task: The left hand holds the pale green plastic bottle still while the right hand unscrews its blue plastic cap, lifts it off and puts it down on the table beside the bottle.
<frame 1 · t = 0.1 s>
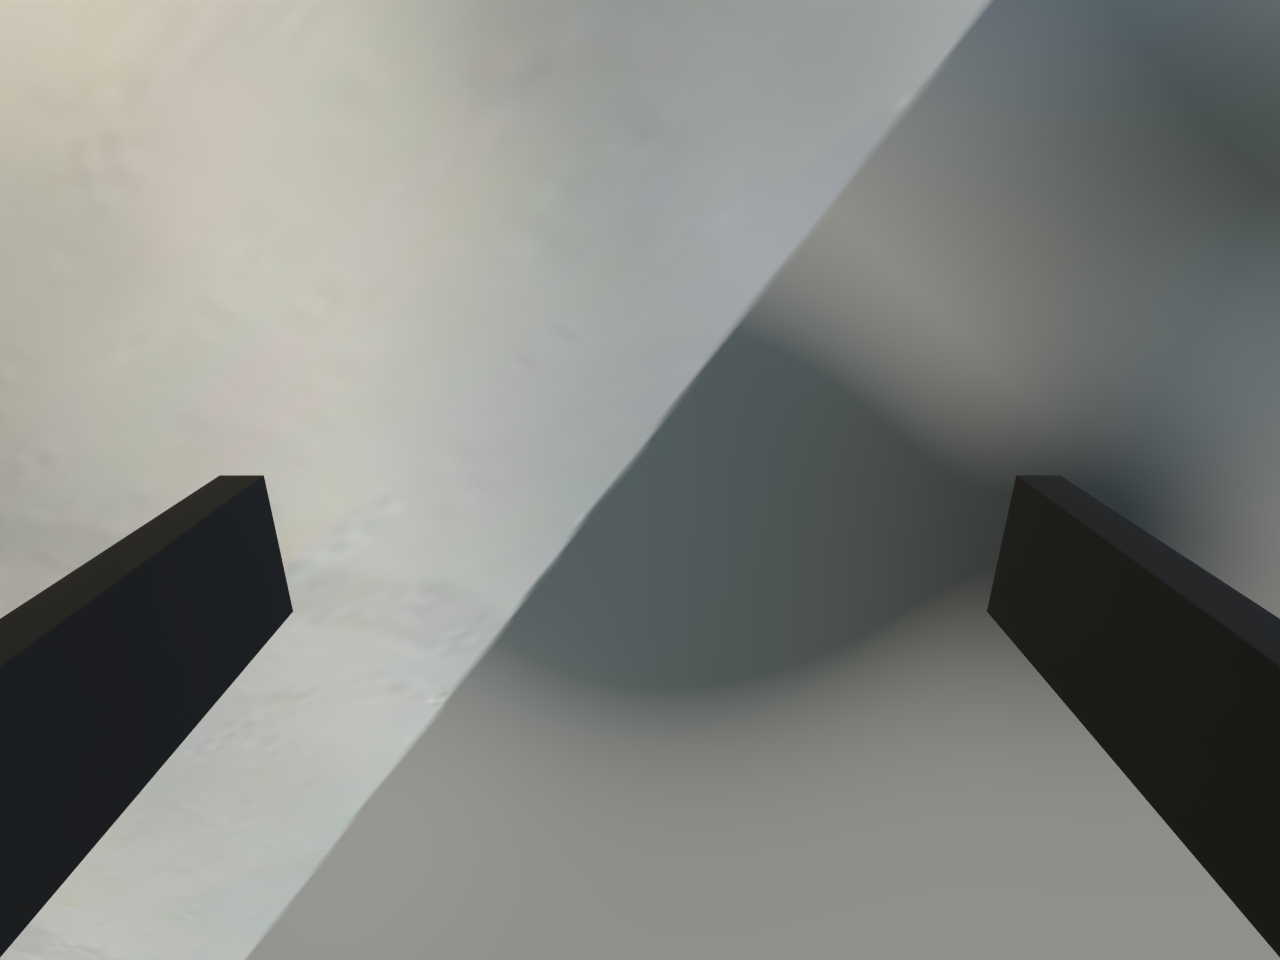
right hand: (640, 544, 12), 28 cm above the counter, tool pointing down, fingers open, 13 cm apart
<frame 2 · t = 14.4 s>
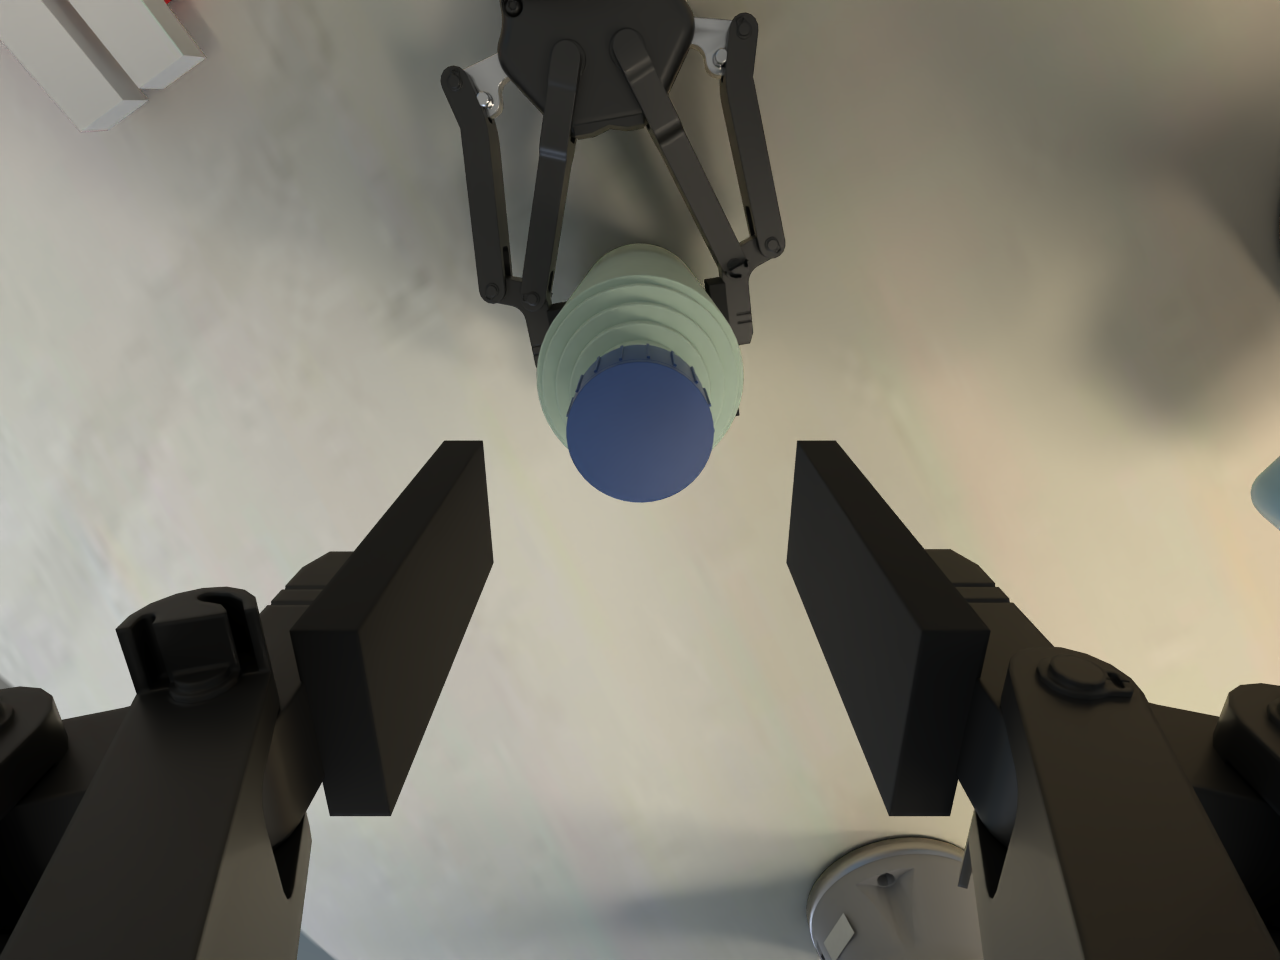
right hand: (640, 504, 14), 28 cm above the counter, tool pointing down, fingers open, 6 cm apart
left hand: (654, 419, 36), fingers closed on bottle, 7 cm apart
cap: (640, 431, 19), point 23 cm above the counter, screwed on, not yet turned
bottle: (640, 307, 40), on the counter, touching left hand
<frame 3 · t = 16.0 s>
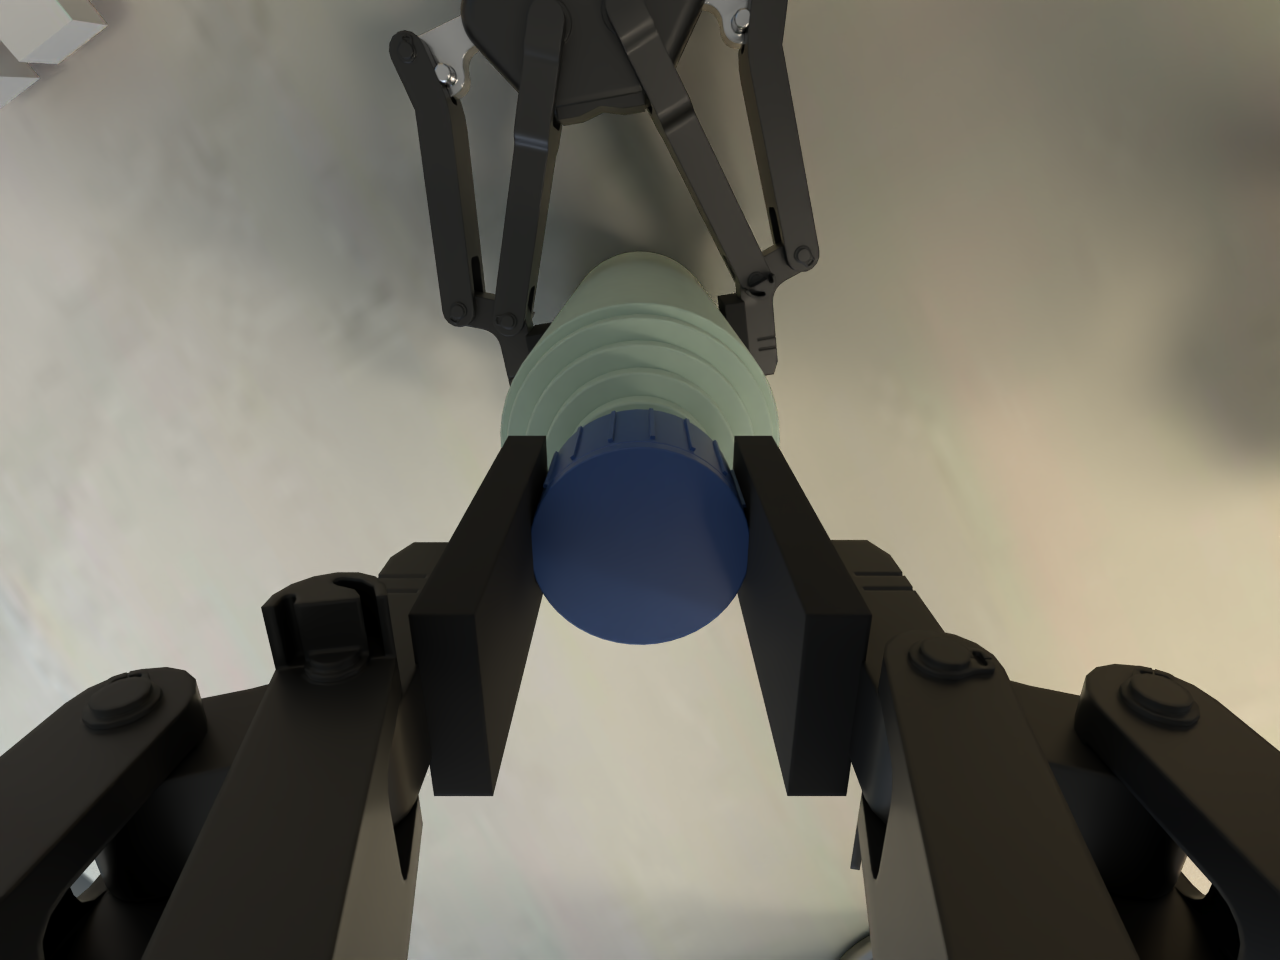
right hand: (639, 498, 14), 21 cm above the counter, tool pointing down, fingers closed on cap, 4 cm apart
left hand: (657, 463, 30), fingers closed on bottle, 7 cm apart
cap: (640, 544, 12), point 23 cm above the counter, screwed on, not yet turned, touching right hand
bottle: (640, 326, 34), on the counter, touching left hand
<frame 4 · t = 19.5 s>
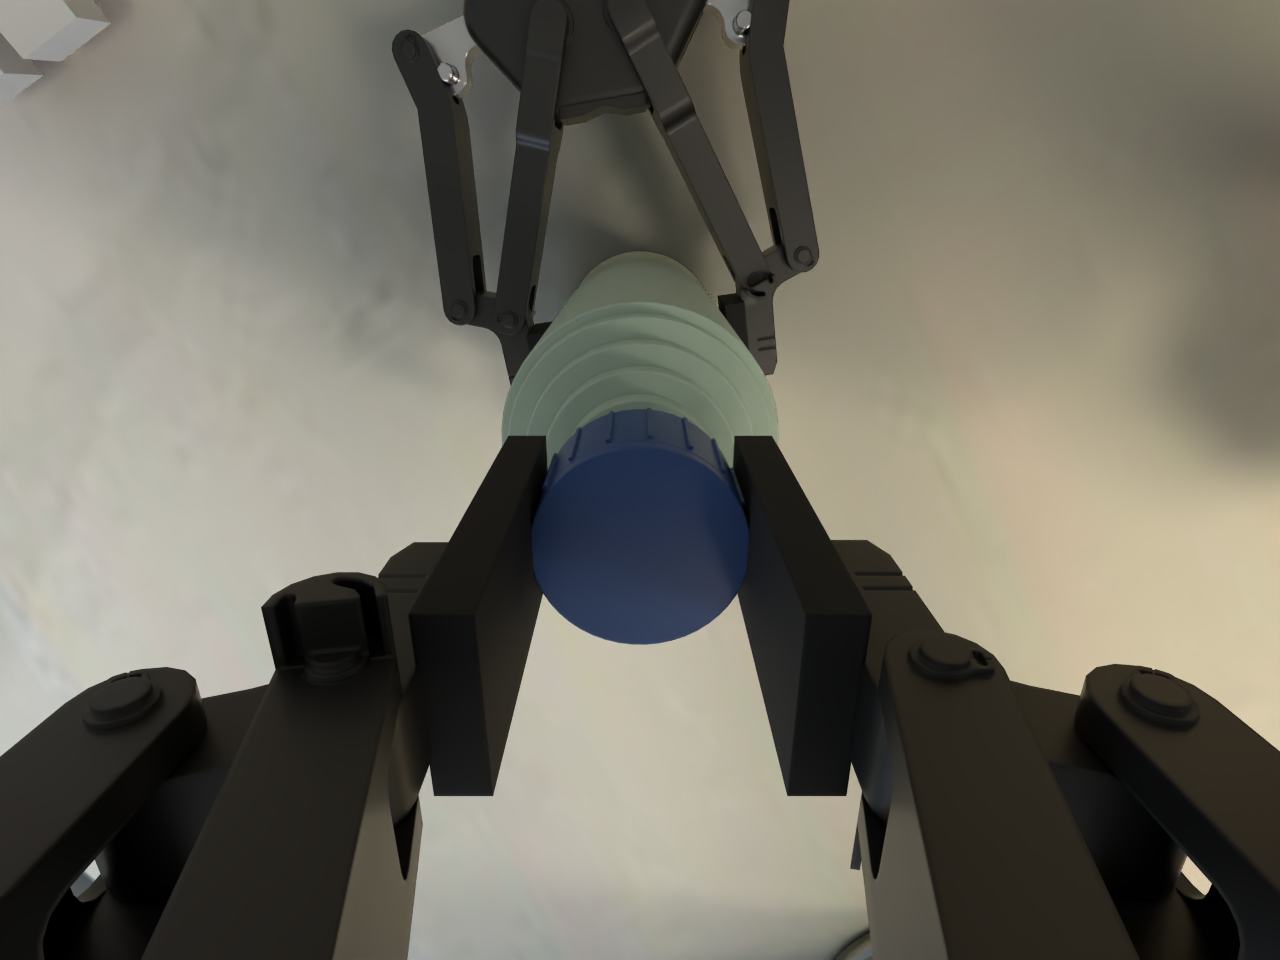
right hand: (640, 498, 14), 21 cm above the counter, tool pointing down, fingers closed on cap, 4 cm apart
left hand: (657, 462, 30), fingers closed on bottle, 7 cm apart
cap: (640, 544, 12), point 23 cm above the counter, turned 129° so far, risen 0.1 cm, still on its thread, touching right hand
bottle: (640, 326, 34), on the counter, touching left hand
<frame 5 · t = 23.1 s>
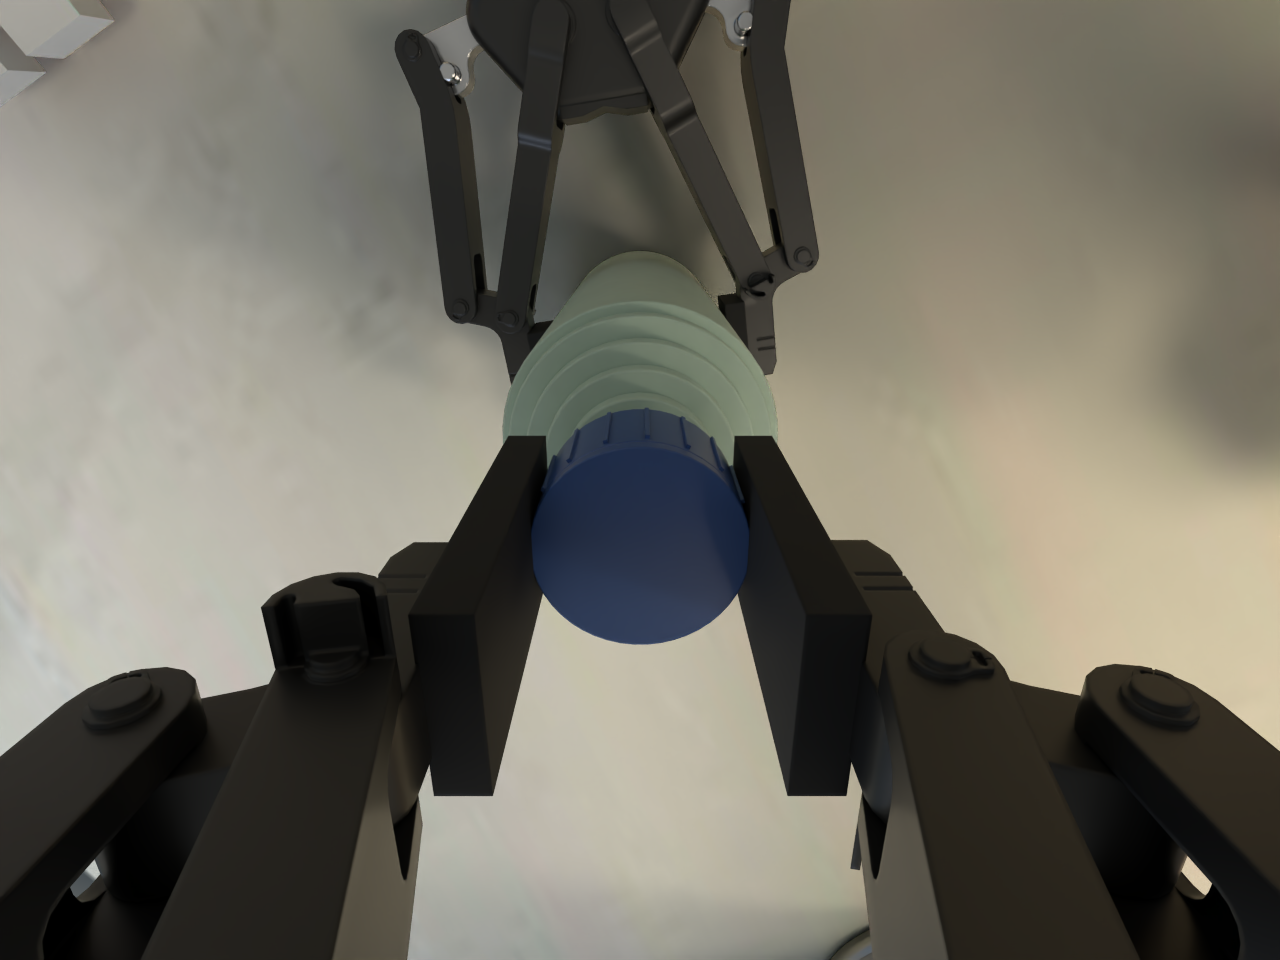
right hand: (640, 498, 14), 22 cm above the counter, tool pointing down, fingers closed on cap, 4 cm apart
left hand: (656, 461, 31), fingers closed on bottle, 7 cm apart
cap: (640, 544, 12), point 24 cm above the counter, turned 257° so far, risen 0.3 cm, still on its thread, touching right hand
bottle: (640, 325, 34), on the counter, touching left hand
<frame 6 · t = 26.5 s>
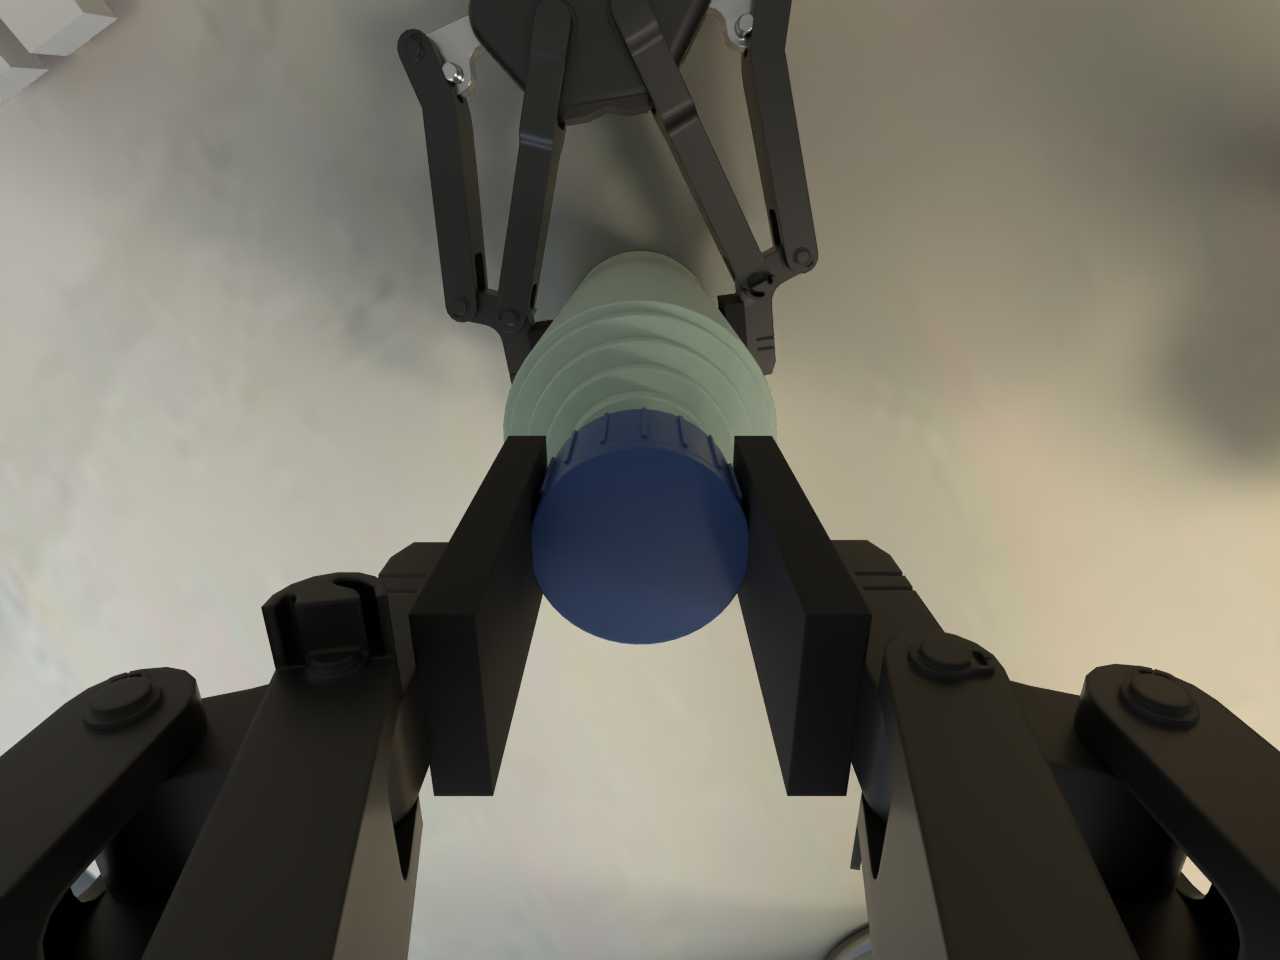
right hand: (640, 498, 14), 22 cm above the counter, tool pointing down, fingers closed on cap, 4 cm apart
left hand: (655, 460, 31), fingers closed on bottle, 7 cm apart
cap: (639, 544, 12), point 24 cm above the counter, turned 386° so far, risen 0.4 cm, still on its thread, touching right hand
bottle: (640, 325, 35), on the counter, touching left hand
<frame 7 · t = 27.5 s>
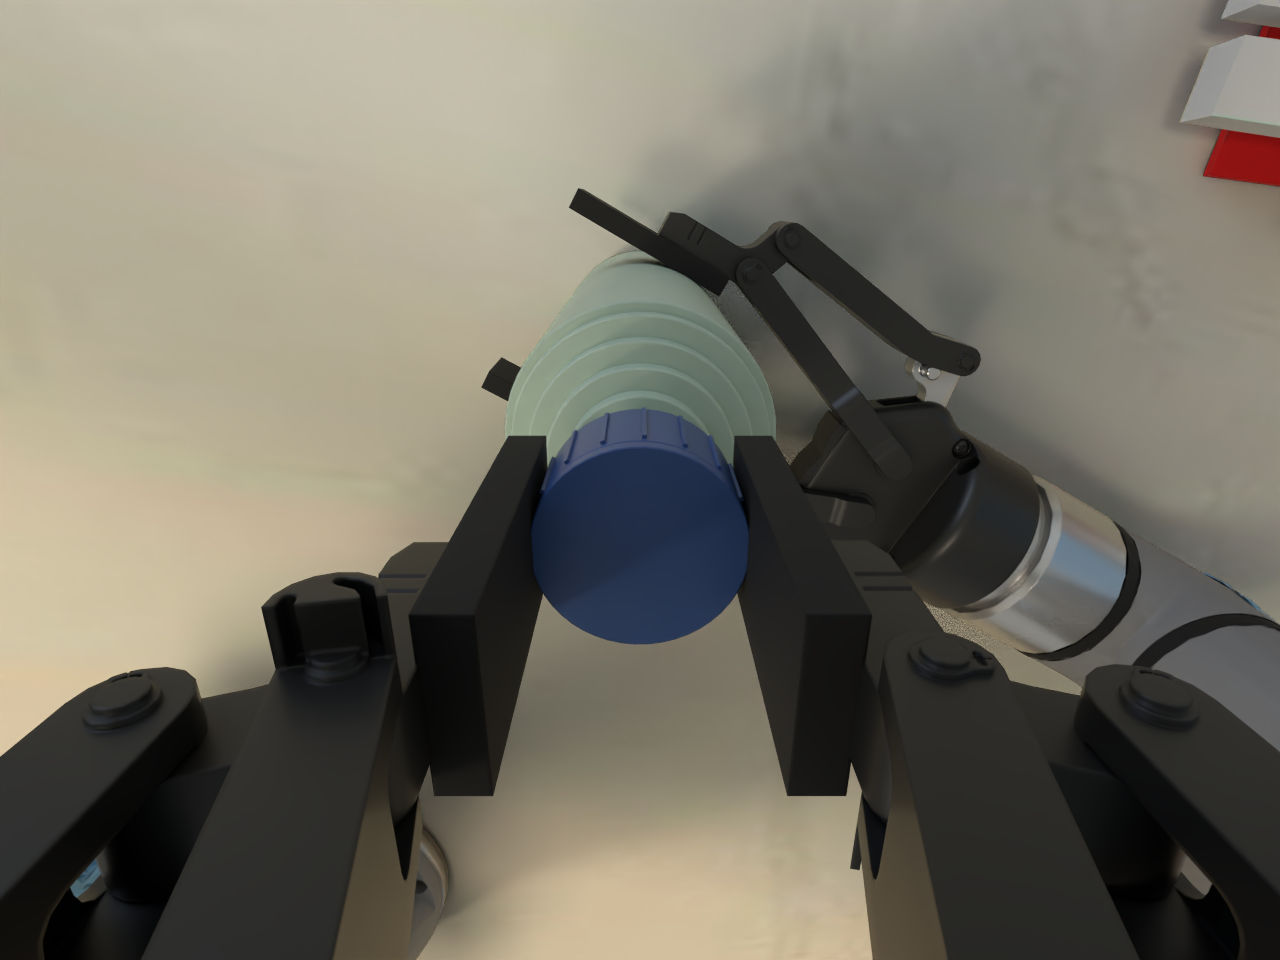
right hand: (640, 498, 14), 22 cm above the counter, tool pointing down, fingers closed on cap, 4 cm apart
left hand: (533, 289, 28), fingers closed on bottle, 7 cm apart
cap: (639, 544, 12), point 24 cm above the counter, off its thread, touching right hand
bottle: (640, 325, 35), on the counter, touching left hand
when the right hand's fingers open (1 cm above the counter, at t = 34.7 s): cap drops 1 cm, point 2 cm above the counter.
when the left hand's fingers open (6 cm above the counter, at t = 35.9 s): bottle stays where it is, on the counter.
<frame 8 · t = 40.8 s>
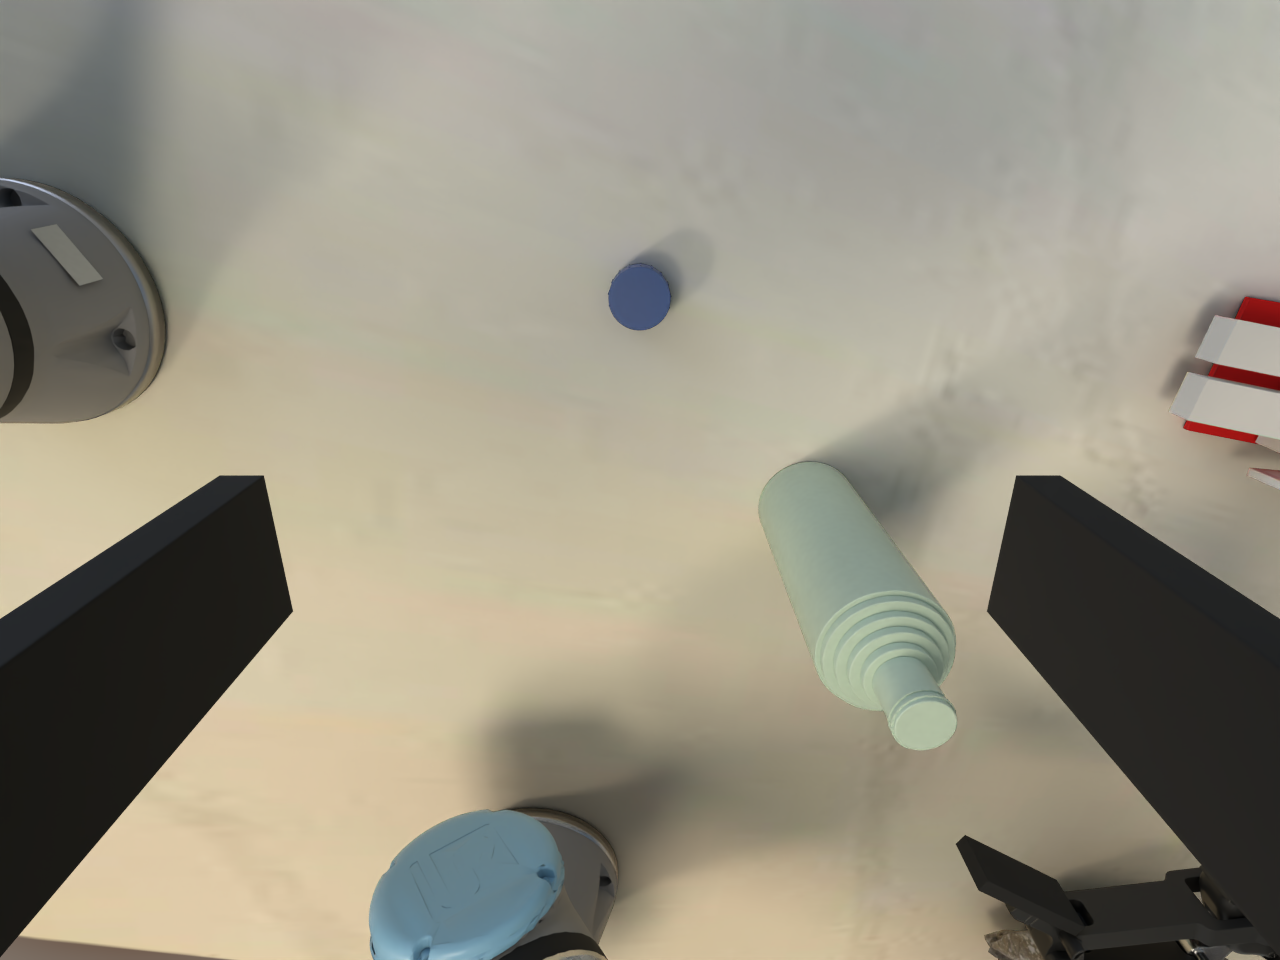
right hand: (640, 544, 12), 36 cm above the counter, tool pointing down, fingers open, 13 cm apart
left hand: (1064, 773, 34), fingers open, 13 cm apart
cap: (639, 298, 44), point 2 cm above the counter, off its thread
fossil: (1083, 913, 67), on the counter
bottle: (805, 506, 51), on the counter
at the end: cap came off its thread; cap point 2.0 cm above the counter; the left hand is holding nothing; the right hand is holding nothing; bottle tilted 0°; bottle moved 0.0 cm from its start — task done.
